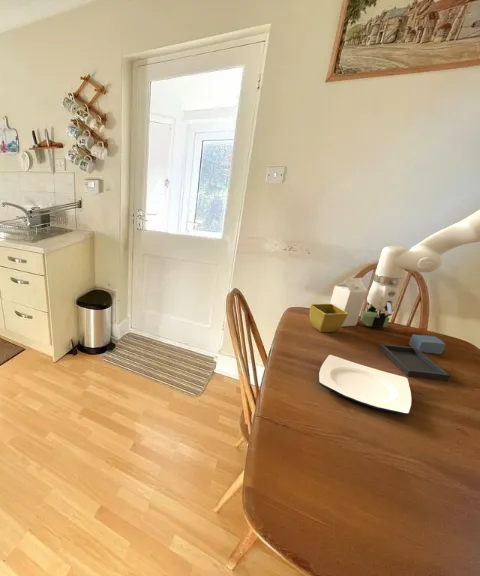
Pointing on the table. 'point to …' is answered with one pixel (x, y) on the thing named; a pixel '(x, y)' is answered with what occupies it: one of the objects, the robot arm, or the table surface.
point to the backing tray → (413, 362)
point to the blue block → (427, 344)
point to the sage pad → (371, 318)
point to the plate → (366, 385)
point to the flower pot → (326, 317)
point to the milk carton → (349, 299)
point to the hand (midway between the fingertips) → (373, 322)
